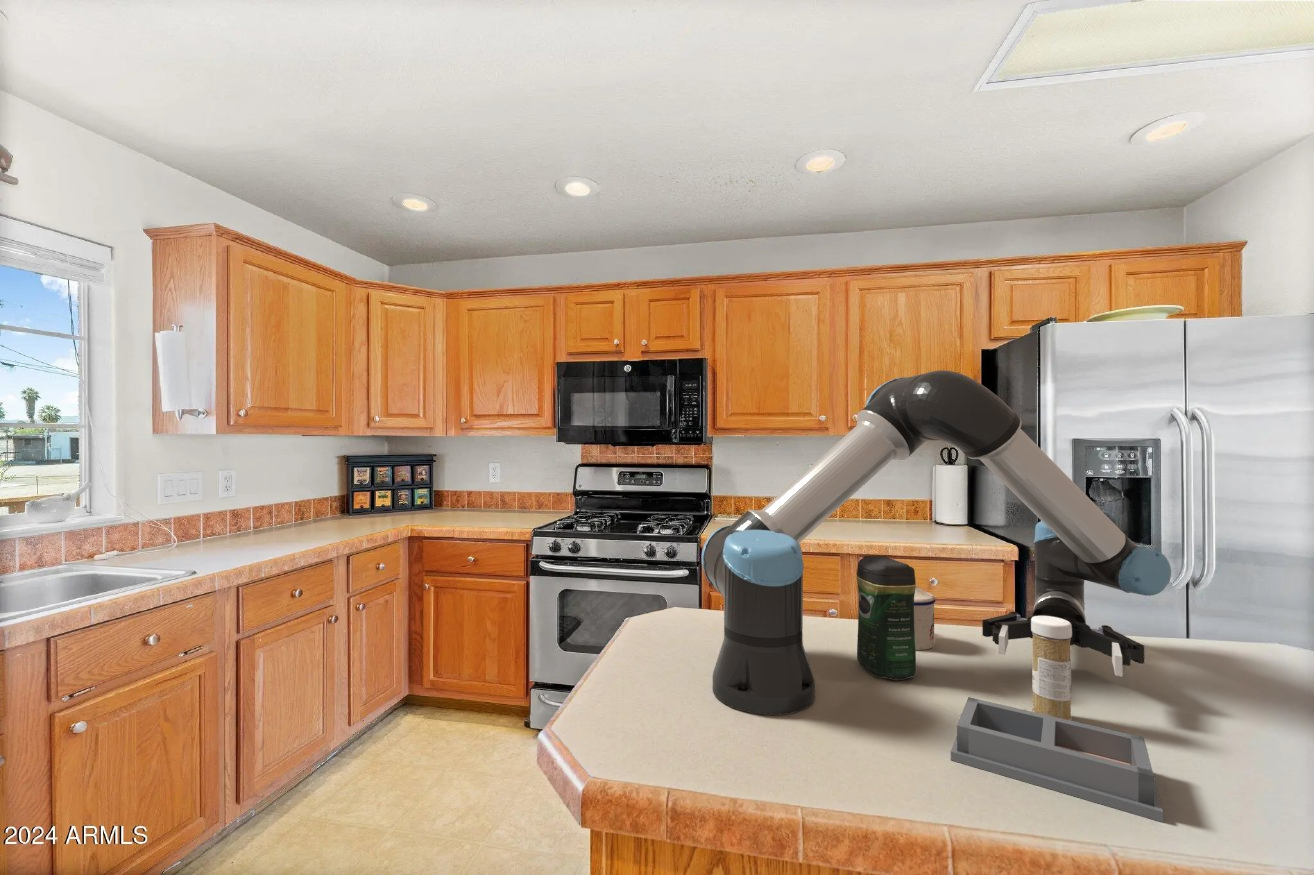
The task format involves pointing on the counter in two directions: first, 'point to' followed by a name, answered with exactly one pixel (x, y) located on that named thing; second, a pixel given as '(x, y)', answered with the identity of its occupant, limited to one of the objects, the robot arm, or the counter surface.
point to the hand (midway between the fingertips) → (1057, 655)
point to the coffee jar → (886, 617)
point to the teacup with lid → (923, 619)
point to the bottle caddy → (1059, 756)
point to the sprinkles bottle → (1051, 666)
